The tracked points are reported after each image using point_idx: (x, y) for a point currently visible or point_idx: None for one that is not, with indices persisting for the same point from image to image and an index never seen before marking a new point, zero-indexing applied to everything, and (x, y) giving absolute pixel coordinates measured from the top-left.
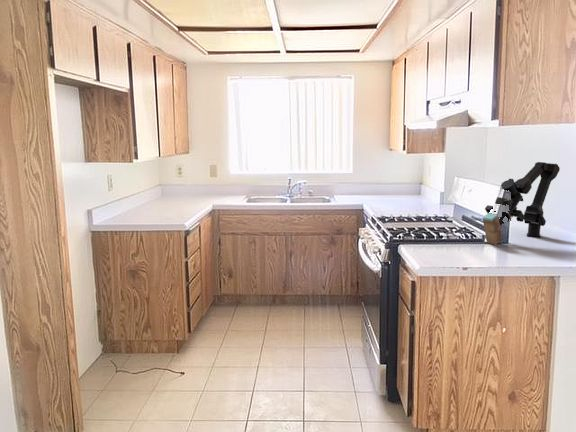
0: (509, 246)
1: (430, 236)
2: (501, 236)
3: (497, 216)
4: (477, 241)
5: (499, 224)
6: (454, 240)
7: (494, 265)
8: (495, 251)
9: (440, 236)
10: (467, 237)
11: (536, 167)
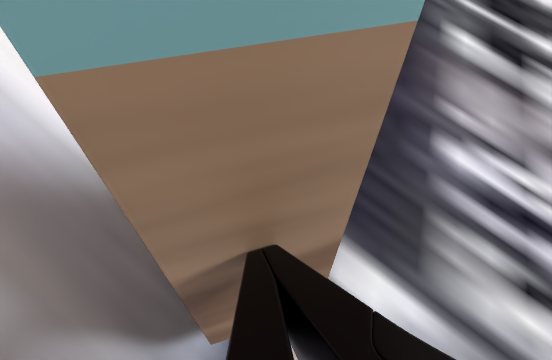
0: (107, 345)
1: (517, 9)
2: (201, 327)
3: (28, 28)
4: None
5: (151, 248)
6: (405, 63)
7: None
8: (32, 103)
9: (518, 56)
10: (489, 203)
11: None
